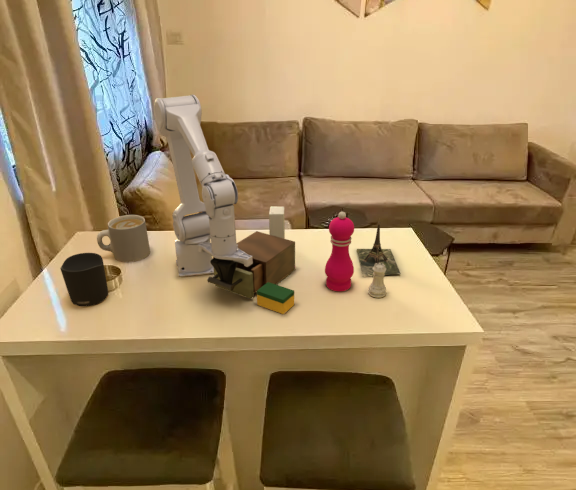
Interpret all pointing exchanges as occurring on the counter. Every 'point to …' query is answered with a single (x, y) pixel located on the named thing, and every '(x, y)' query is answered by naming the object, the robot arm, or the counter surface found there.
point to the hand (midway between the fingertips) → (227, 284)
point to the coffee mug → (126, 238)
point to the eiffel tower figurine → (377, 258)
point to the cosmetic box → (277, 221)
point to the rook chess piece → (378, 282)
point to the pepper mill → (340, 254)
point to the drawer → (242, 279)
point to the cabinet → (270, 255)
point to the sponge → (275, 297)
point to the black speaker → (85, 279)
